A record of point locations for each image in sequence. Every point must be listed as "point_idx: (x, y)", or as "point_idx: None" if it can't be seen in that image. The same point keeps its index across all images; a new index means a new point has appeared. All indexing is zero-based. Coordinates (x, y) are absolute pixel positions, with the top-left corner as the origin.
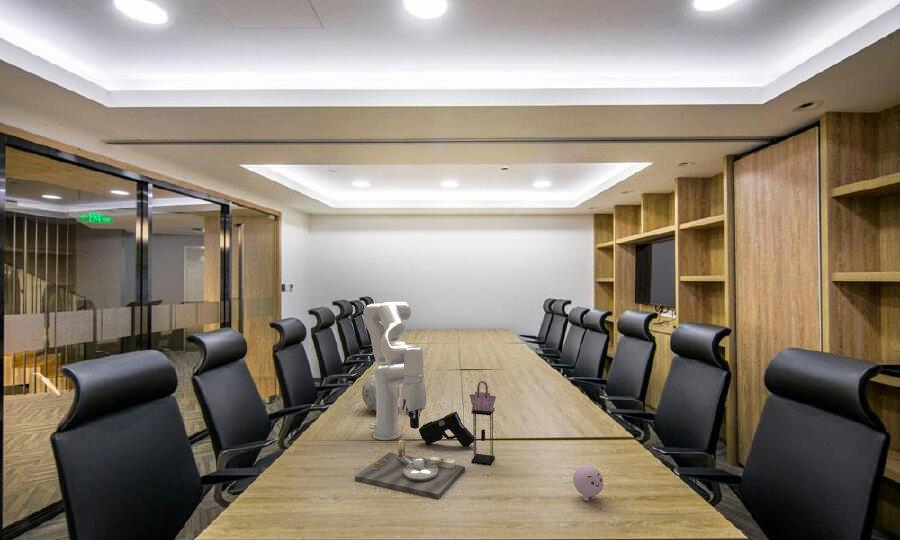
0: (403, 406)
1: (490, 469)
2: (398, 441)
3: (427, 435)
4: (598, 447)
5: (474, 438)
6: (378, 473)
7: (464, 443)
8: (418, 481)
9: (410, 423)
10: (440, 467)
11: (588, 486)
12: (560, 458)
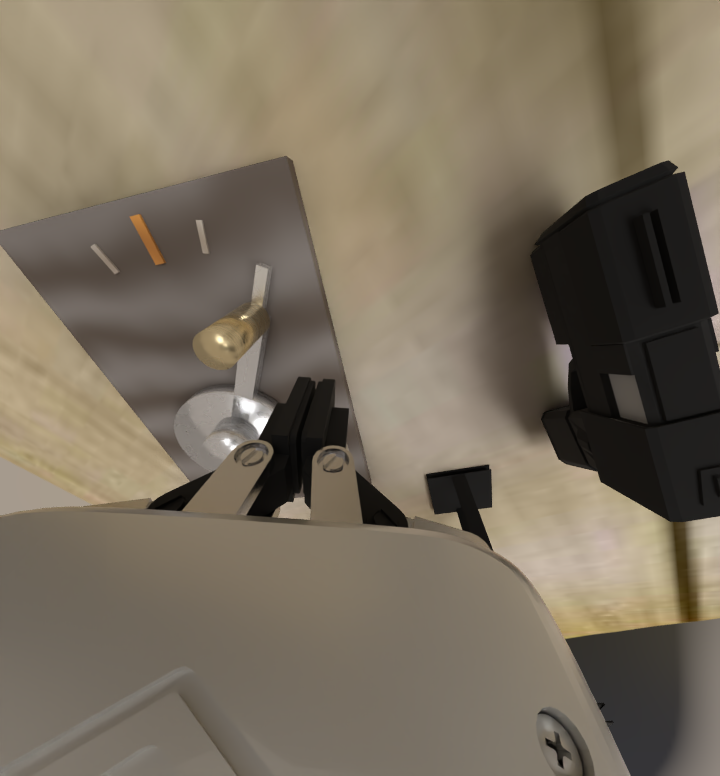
0: (9, 560)
1: (412, 514)
2: (194, 338)
3: (556, 275)
4: (620, 602)
5: (484, 532)
6: (111, 311)
7: (550, 427)
8: None
9: (271, 415)
10: None
11: None
12: (535, 577)
